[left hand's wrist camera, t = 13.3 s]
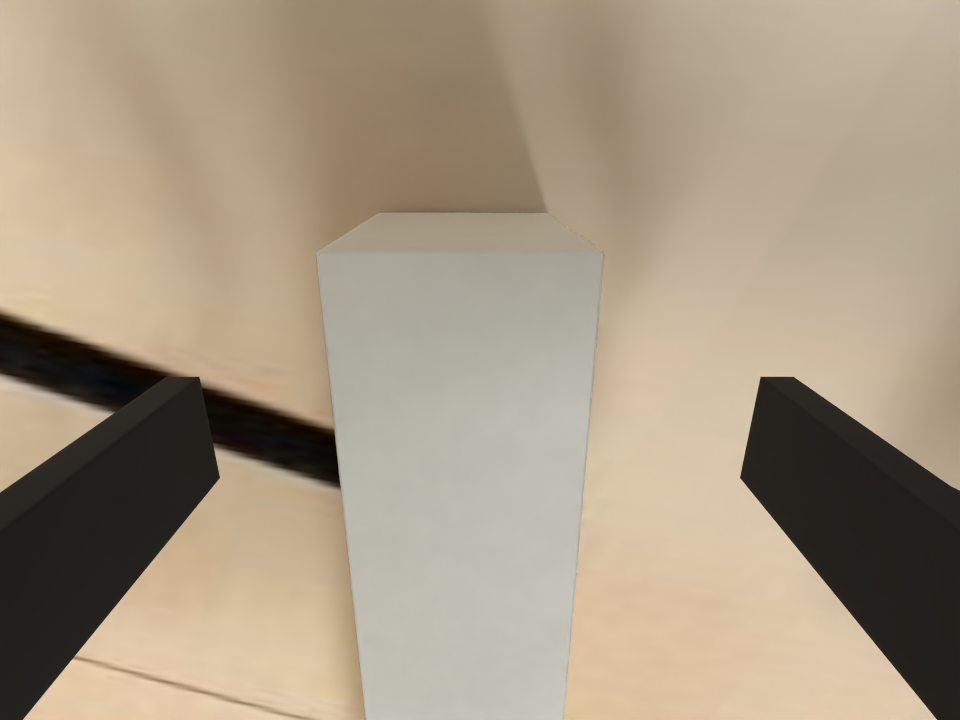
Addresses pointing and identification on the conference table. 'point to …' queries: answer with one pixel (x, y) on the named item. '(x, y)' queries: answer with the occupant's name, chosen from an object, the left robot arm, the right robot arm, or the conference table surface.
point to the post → (462, 454)
